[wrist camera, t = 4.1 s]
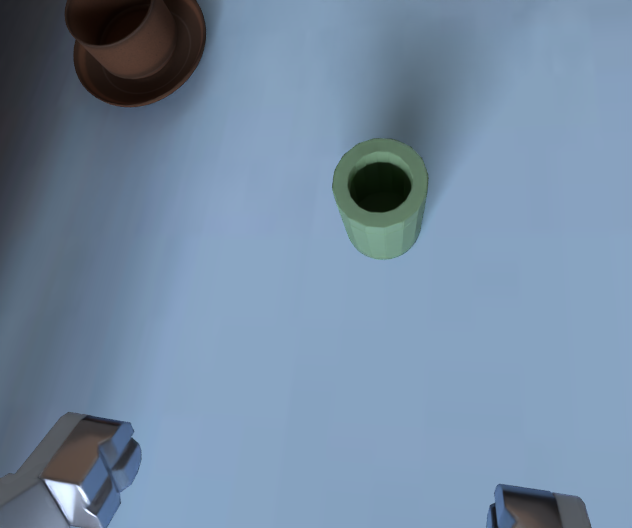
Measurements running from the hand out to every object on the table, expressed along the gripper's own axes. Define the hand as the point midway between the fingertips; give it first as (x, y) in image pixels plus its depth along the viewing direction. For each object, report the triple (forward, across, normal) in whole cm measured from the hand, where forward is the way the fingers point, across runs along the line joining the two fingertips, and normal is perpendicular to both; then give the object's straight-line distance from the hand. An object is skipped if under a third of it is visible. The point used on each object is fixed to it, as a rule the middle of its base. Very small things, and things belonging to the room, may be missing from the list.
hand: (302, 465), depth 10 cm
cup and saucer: (+35, +22, -2) cm, 41 cm away
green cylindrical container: (+25, 0, +7) cm, 26 cm away
